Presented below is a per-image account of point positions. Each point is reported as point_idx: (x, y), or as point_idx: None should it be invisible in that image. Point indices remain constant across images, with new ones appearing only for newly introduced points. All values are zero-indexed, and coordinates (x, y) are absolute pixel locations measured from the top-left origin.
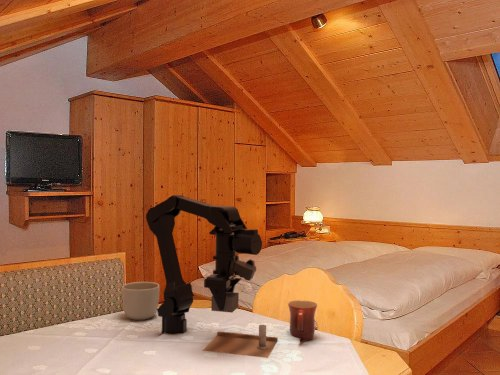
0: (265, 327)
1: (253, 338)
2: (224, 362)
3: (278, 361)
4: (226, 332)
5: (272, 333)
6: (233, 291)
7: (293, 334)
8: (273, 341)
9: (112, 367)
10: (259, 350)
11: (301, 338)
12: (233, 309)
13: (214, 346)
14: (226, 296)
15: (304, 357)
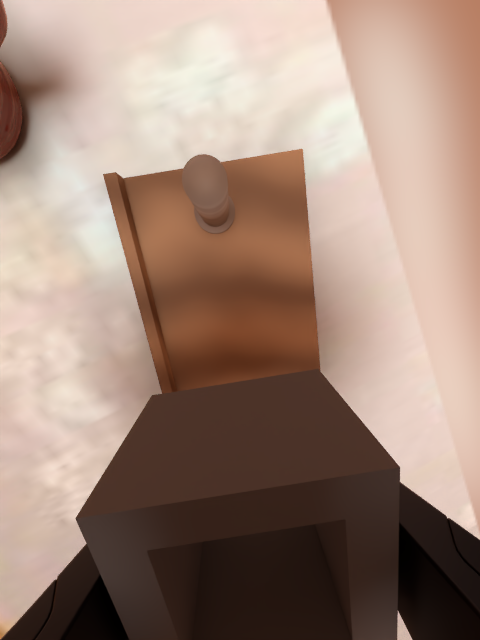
0: (211, 157)
1: (147, 281)
2: (347, 296)
3: (273, 120)
4: (163, 389)
5: (10, 256)
6: (52, 594)
7: (5, 122)
8: (127, 195)
9: (455, 509)
10: (247, 211)
11: (10, 81)
12: (292, 381)
13: (277, 371)
14: (351, 554)
15: (188, 19)
